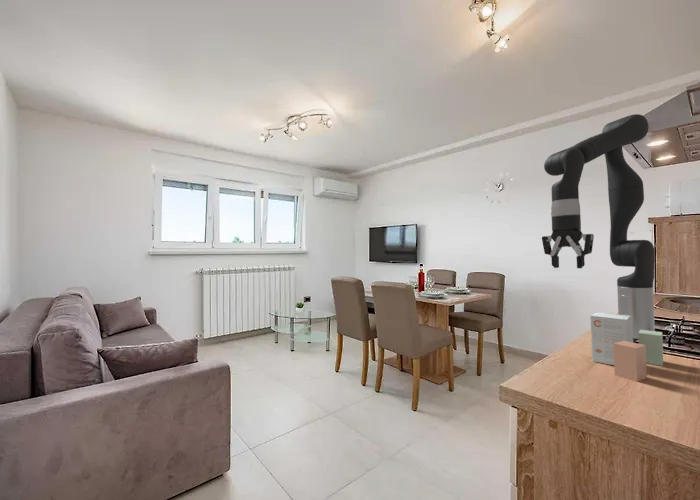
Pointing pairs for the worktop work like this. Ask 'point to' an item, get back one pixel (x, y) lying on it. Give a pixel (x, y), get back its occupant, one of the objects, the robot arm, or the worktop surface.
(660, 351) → the sage block
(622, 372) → the terracotta block
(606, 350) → the small box
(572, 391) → the worktop surface
